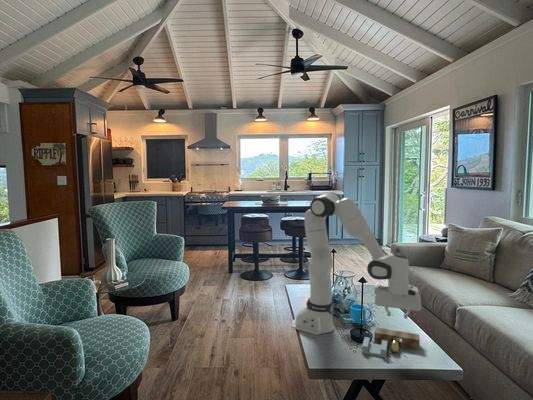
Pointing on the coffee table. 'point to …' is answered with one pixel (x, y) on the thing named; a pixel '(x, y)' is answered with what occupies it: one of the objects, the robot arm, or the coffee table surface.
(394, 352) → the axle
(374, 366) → the coffee table surface
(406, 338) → the beam
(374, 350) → the cradle
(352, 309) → the mug
